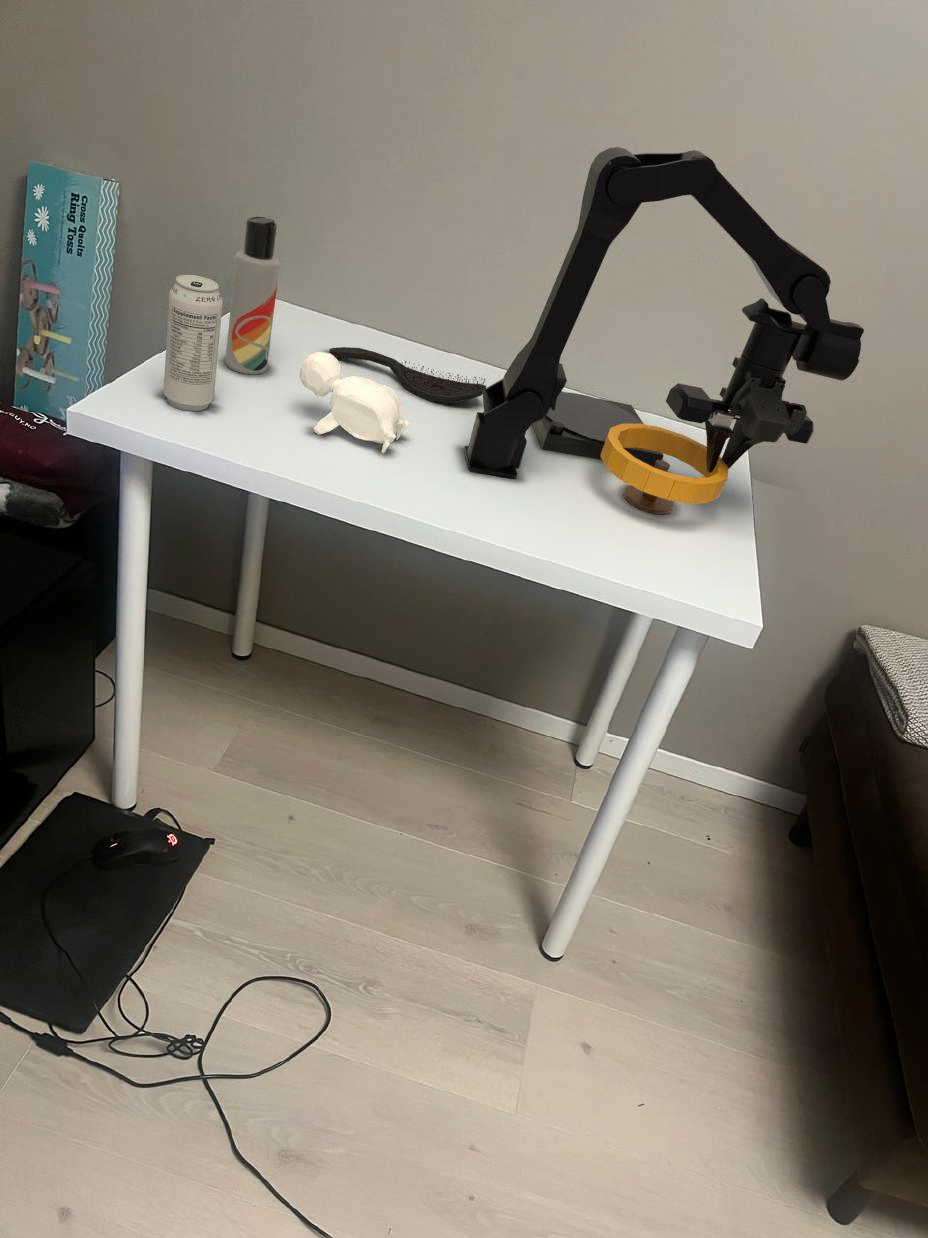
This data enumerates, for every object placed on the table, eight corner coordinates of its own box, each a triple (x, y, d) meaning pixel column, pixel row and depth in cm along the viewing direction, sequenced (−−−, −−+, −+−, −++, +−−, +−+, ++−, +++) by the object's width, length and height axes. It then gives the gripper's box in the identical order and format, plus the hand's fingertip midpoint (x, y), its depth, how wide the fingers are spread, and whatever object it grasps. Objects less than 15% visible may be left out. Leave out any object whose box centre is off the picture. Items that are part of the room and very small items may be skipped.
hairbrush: (343, 329, 141) (494, 375, 137) (340, 352, 143) (489, 398, 139) (320, 342, 134) (478, 390, 130) (317, 366, 136) (473, 414, 132)
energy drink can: (217, 398, 117) (228, 281, 109) (207, 416, 112) (218, 295, 104) (169, 387, 116) (177, 269, 108) (157, 406, 111) (164, 283, 103)
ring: (618, 492, 113) (626, 470, 111) (588, 434, 126) (595, 414, 124) (737, 512, 116) (746, 491, 115) (696, 454, 130) (704, 435, 128)
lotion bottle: (262, 378, 125) (280, 228, 114) (220, 368, 125) (235, 216, 114) (270, 364, 130) (288, 218, 119) (230, 354, 129) (244, 207, 118)
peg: (630, 510, 120) (646, 471, 117) (617, 484, 126) (631, 446, 122) (678, 518, 122) (695, 479, 118) (663, 492, 127) (679, 455, 124)
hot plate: (542, 449, 129) (549, 427, 127) (521, 398, 144) (527, 378, 142) (658, 469, 134) (666, 448, 132) (626, 418, 148) (633, 398, 146)
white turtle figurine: (390, 452, 123) (302, 380, 122) (423, 405, 119) (332, 330, 117) (366, 474, 116) (273, 399, 115) (401, 426, 112) (304, 346, 110)
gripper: (718, 371, 105) (669, 490, 114) (858, 400, 109) (800, 512, 118) (688, 337, 114) (644, 450, 122) (818, 366, 118) (767, 472, 127)
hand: (714, 472), depth 122 cm, fingers closed on ring
